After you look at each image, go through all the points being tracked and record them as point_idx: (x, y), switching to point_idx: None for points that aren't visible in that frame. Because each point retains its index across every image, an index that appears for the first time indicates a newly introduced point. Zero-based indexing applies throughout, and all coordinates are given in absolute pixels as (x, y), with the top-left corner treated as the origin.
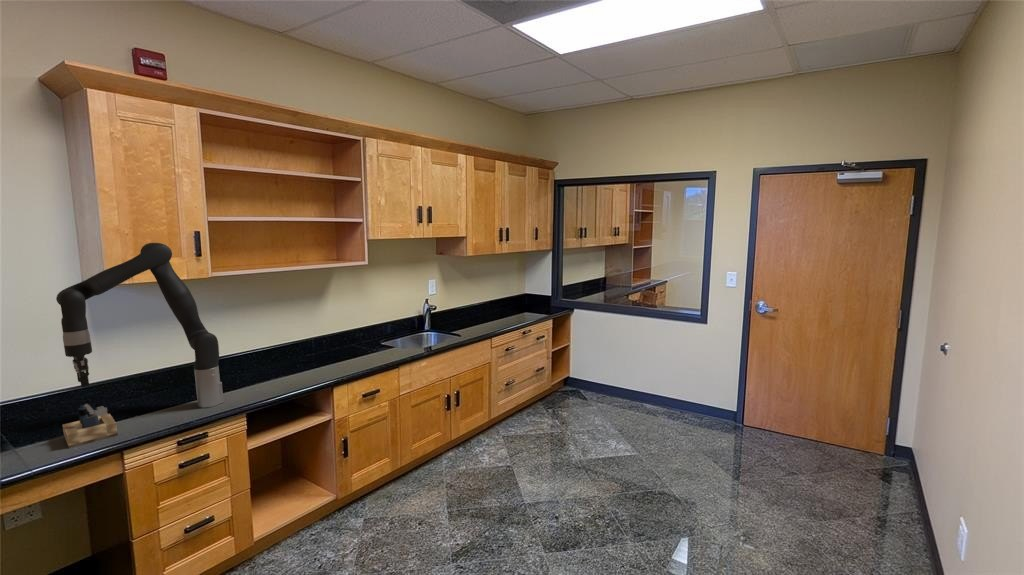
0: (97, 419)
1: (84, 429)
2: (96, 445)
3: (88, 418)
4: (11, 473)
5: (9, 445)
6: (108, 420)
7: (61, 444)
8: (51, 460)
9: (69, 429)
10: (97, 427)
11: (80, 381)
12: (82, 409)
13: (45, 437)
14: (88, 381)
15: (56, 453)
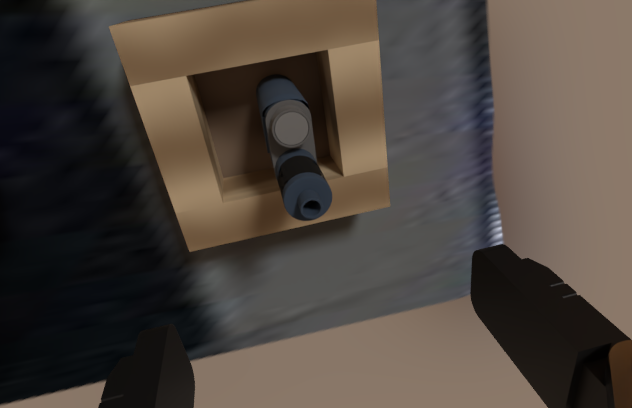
0: (298, 92)
1: (360, 144)
2: (421, 77)
3: (312, 142)
4: None
5: None
6: (280, 29)
7: None
8: (454, 212)
9: None
10: (378, 84)
11: (515, 362)
12: (330, 194)
13: (147, 280)
14: (538, 277)
15: (392, 209)
